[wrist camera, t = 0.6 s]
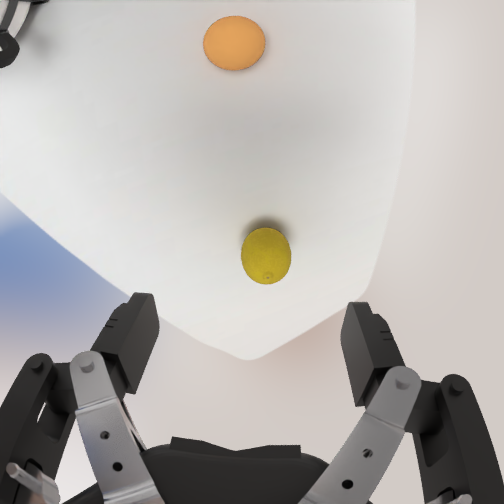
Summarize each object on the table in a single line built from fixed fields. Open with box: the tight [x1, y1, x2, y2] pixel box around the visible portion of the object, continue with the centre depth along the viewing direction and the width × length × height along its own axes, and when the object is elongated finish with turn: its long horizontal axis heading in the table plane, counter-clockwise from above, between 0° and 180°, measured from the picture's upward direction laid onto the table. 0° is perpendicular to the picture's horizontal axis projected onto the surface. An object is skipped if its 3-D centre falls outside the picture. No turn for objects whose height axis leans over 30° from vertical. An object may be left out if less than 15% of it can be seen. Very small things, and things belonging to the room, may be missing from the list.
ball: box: [203, 16, 265, 70], centre depth 21 cm, size 6×6×6 cm
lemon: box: [241, 228, 291, 284], centre depth 33 cm, size 6×6×8 cm
